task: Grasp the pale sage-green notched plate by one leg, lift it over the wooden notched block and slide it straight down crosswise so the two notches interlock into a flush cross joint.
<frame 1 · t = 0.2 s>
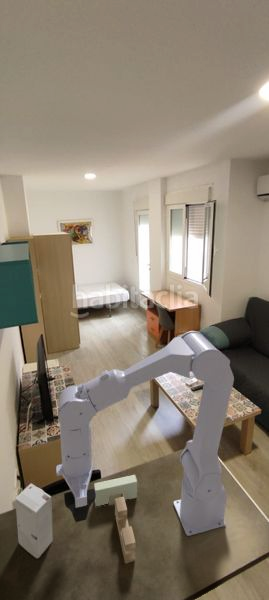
hand: (78, 501, 60), 10 cm above the counter, tool pointing down, fingers open, 7 cm apart
skincare box: (36, 542, 61), on the counter
wooden notched block: (124, 536, 63), on the counter
slotted plate: (115, 498, 71), on the counter
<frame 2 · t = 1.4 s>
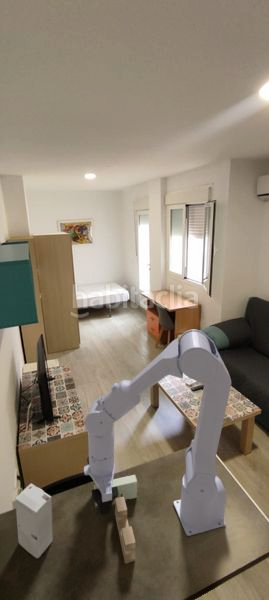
hand: (102, 497, 70), 1 cm above the counter, tool pointing down, fingers open, 7 cm apart
nothing on the counter moved.
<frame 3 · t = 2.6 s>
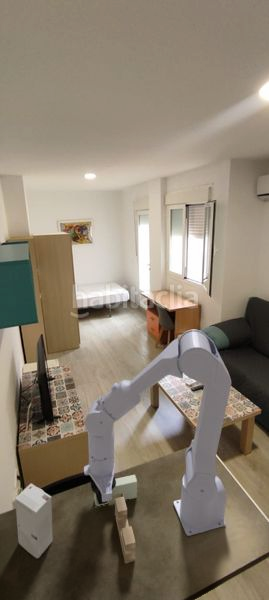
hand: (101, 497, 70), 1 cm above the counter, tool pointing down, fingers closed on slotted plate, 2 cm apart
slotted plate: (115, 498, 71), on the counter, touching gripper
everything else where it was.
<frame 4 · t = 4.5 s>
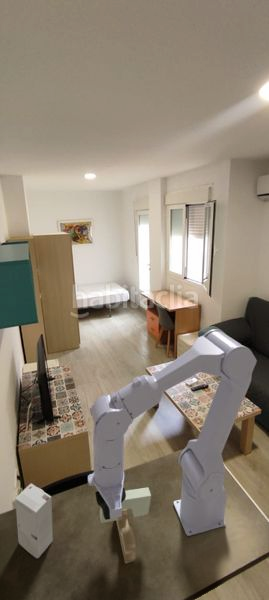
hand: (108, 510, 59), 8 cm above the counter, tool pointing down, fingers closed on slotted plate
slotted plate: (124, 514, 61), point 6 cm above the counter, tilted 5°, touching gripper
everything else where it was.
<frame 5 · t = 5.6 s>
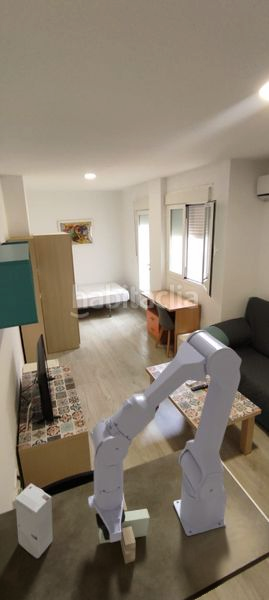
hand: (108, 531, 61), 3 cm above the counter, tool pointing down, fingers closed on slotted plate, 2 cm apart
slotted plate: (122, 534, 62), point 1 cm above the counter, tilted 8°, touching gripper
everything else where it was.
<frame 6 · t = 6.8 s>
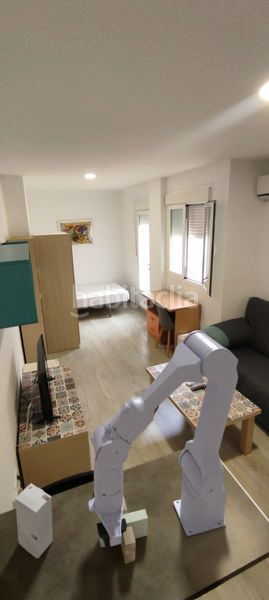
hand: (108, 534, 61), 2 cm above the counter, tool pointing down, fingers open, 4 cm apart
slotted plate: (123, 536, 62), on the counter, touching wooden notched block
everything else where it was.
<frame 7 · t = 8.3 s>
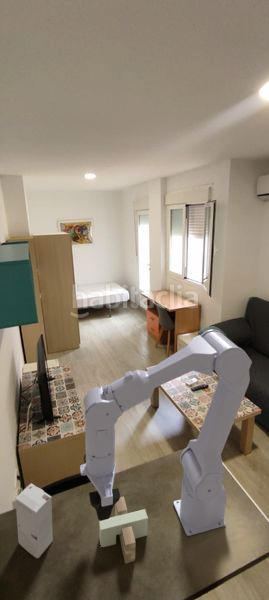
hand: (100, 500, 61), 9 cm above the counter, tool pointing down, fingers open, 7 cm apart
nothing on the counter moved.
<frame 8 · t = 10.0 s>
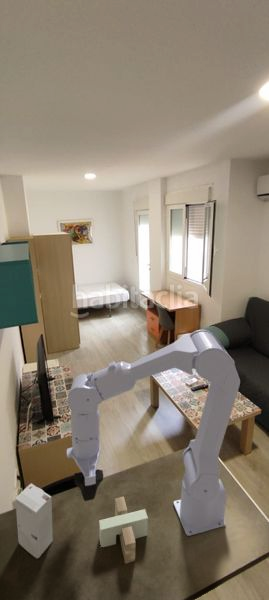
hand: (87, 482, 64), 9 cm above the counter, tool pointing down, fingers open, 7 cm apart
nothing on the counter moved.
at the end: slotted plate 0.2 cm off-centre on the wooden notched block, point 0.0 cm above the wooden notched block's base; slotted plate tilted 0°; the gripper is holding nothing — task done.
